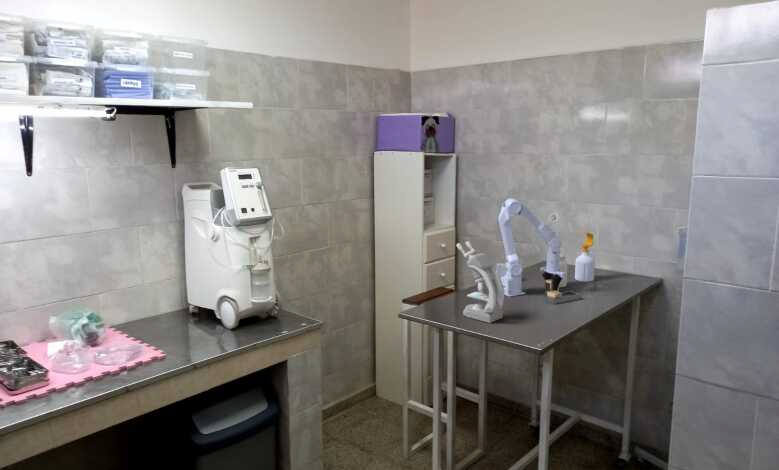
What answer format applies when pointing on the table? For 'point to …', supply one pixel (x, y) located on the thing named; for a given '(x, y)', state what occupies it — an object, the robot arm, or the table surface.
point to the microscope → (492, 301)
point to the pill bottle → (563, 270)
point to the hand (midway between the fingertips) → (552, 289)
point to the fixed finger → (554, 294)
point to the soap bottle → (585, 262)
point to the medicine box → (501, 270)
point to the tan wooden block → (549, 286)
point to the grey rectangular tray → (563, 297)
